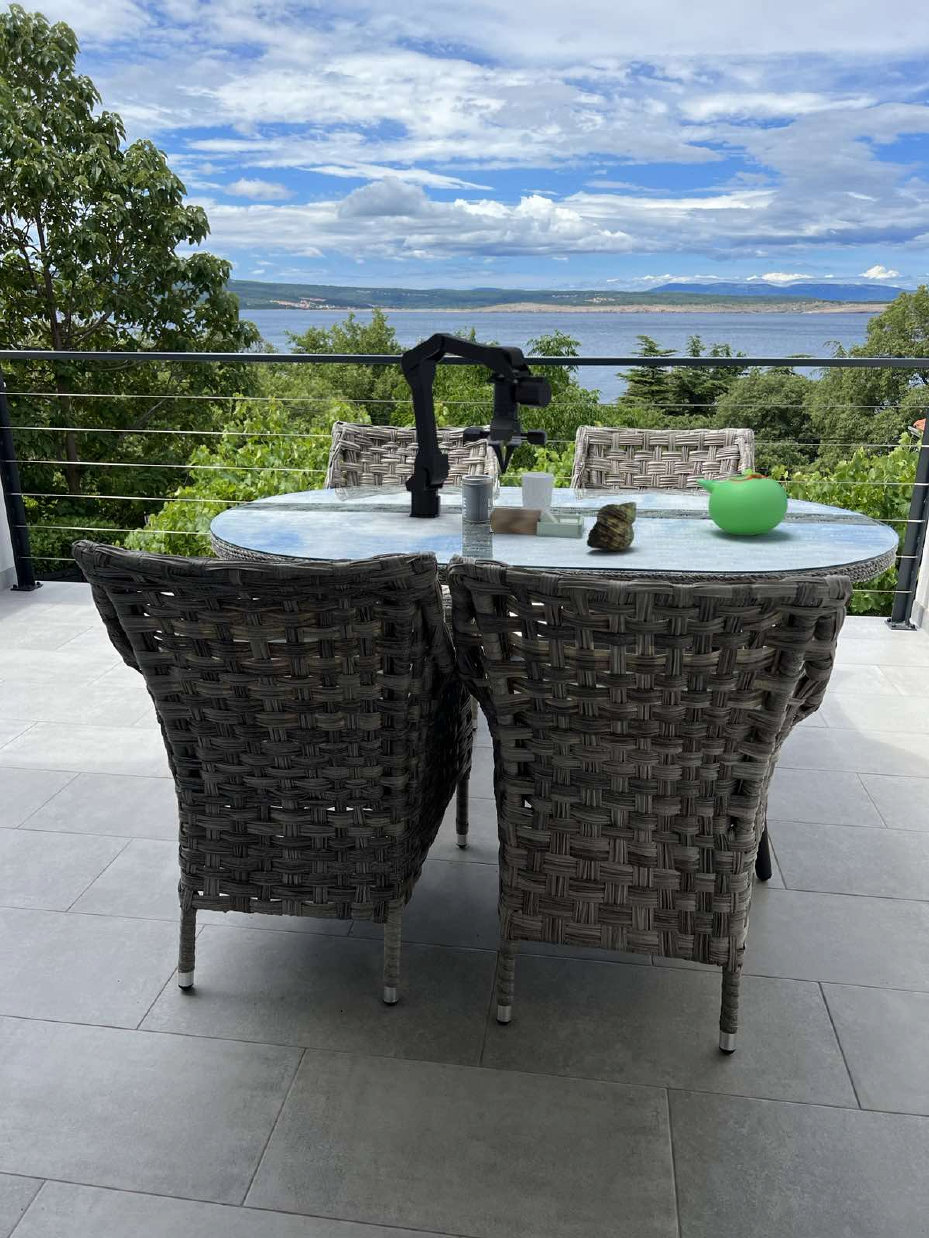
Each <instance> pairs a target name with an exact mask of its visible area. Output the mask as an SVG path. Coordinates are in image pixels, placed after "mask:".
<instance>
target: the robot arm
mask: <svg viewBox="0 0 929 1238" xmlns="http://www.w3.org/2000/svg"><path fill="white" fill-rule="evenodd" d="M447 354H450V355H453V356H457V357H460V358H463V359H468V360H471V361H475V362H477V363H480V364H481V365H483V366H484V367H485V368H486V369H487V370H489V371H492V374H491V375H490V376H489V377H488V378H487V379H485V383H486V384H493V405H492V407H493V408H492V409H493V411H492V419H491V421H490V425H489V430H484V426H468V427H466V428H465V429H464V430H463V433H462V442H466V443H467V442H470V443H477V442H478V440H480V439H482V440H484V439H485V440H487V441H488V443H487V446H488V447H491V449H493V450H492V451H494V453H495V456H496V458H497V461H498V466H499V469H500V472H501V475H505V474H507V471H508V468H509V465H510V463H511V460H512V457H513V455H514V454H515V453H514V452H515V451H516V450H517V448H521V446H522V445H523V443H522V441H523V442H524V441H526V442H528V443H529V445H532V446H533V445H536V446H545V445H546V443H547V442H548V433H547V431H546V430H545V429H534V428H531V429H529V430H528V431H527V432H522V428H523V427H522V425H523V424H522V419H519V412H520V411H519V409H520V408H519V407H520V406H521V407H527V408H528V407H529V408H531V407H532V408H538V409H539V408H540V409H545V408H547V407H548V406H549V405H550V404H551V401H552V396H553V392H552V391H553V390H552V388H551V385H550V383H549V382H548V376H546V375H539V376H538V375H537V376H536V375H535V376H534V374H533V372H532V370H531V369H530V367H529V365H528V363H527V362H526V360H525V355H524V353H523V350H522V349H521V348H520V347H517V346H506V345H505V346H503V345H502V346H501V345H488V344H485V343H481V342H478V341H475V340H470V339H467V338H463V337H460V336H456V335H452V334H451V333H449V332H436V333H434V334H433V335H431V336H430V337H429V338H428V339H426V340H424V341H423V342H421V343H419V344H417V345H416V346H414V347H413V348H412V349H407V350H406V351H405V352H403V355H402V356H401V357H400V367H401V370H402V374H403V375H402V376H403V378H404V380H405V381H406V383H407V384H408V386H409V388H410V389H411V390H410V391H411V397H412V399H411V400H412V406H413V408H412V409H413V414H414V415H413V416H414V422H415V424H414V425H415V433H416V440H417V452H416V456H415V459H414V461H413V473H412V474H411V476H409V477H408V479H407V480H406V481H405V482H404V485H405V489H406V492H409V493H410V506H411V507H410V513H409V517H413V518H414V517H415V518H416V517H418V518H420V517H421V518H436V517H437V516H438V515H440V513H441V507H442V506H441V502H442V501H441V499H442V498H441V495H439V490H442V489H444V484H445V482H446V480H447V479H448V478H449V471H450V470H451V468H450V464H449V463H450V462H449V461H450V460H449V458H450V457H449V454H448V453H443V452H442V451H441V449H440V447H439V442H438V432H437V421H436V414H435V404H434V395H433V384H434V382H435V379H436V375H437V364H439V363H440V362H441V361H442V360H444V358H445V356H446V355H447ZM505 442H506V443H507V444H506V446H505V447H504V445H505V444H504V443H505Z"/></svg>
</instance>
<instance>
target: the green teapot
mask: <svg viewBox="0 0 929 1238" xmlns="http://www.w3.org/2000/svg"><path fill="white" fill-rule="evenodd" d="M695 483H696V484H697V485H698V486H699V487H701V488H702V489H704V490H706V491H707V492H708V493H709V494H710V495H709V499H708V504H707V505H708V513H709V516H710V518H711V519H712V522H713V523H714V524H715V525H716V526H717V527H718V528H720V529H721V530H723V531H724V532H726V533H729V534H733V535H735V534H737V536H743V535H750V536H757V534H758V535H762V534H765V533H767V532H770V531H771V530H774V529H775V528H777V526H779V525H780V524H781V523H782V522H783V520H784V519H785V517H786V515H787V512H788V507H789V505H788V504H789V503H788V496H787V493H786V491H785V490H784V488H783V487H782V485H781V484H780V483H778V482H777V481H776V480H774V479H772V478H770V477H767V476H765V475H762V474H761V473H760V472H753V469H752V468H747V469H745V470H744V471H743V472H742V473H741V474H736V475H733V476H731V477H728V478H726V479H724V480H722V481H718V480H717V481H716V480H712V479H706V478H699V479H696V480H695Z"/></svg>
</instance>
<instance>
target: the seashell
mask: <svg viewBox="0 0 929 1238" xmlns="http://www.w3.org/2000/svg"><path fill="white" fill-rule="evenodd" d="M636 512H637V503H636V502H635V501H631V502H623V503H620V504H614V503H612V504H611V503H610V504H606V505H604V506H602V507H601V508H600V509H599V510H598V512H597V515H596V522H595V523H594V525H593V526H592V528H591V529H590V530H589V533H588V534H587V536H588V539H587V541H586V545H587V546H588V547H589V548H590V549H597V550H598V549H600V550H605V551H622V550H626V549H627V548H629V546H631V545H632V544H633V541H634V540H635V531H634V528H633V524H634V523H635V522H636V520H637V519H636V518H637V516H636Z"/></svg>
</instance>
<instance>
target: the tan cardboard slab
mask: <svg viewBox="0 0 929 1238" xmlns="http://www.w3.org/2000/svg"><path fill="white" fill-rule="evenodd" d="M540 514H541V510H528V509H523V508H505V507H503V508H499V507H495V508H493V510H492V511H491V513H490V514H489V515H490V525H491V529H492V531H493V533H492V534H505V535H506V534H507V535H508V534H510V535H513V534H514V535H527V536H528V535H529V536H537V522H541V519H540V518H539V516H540Z"/></svg>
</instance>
